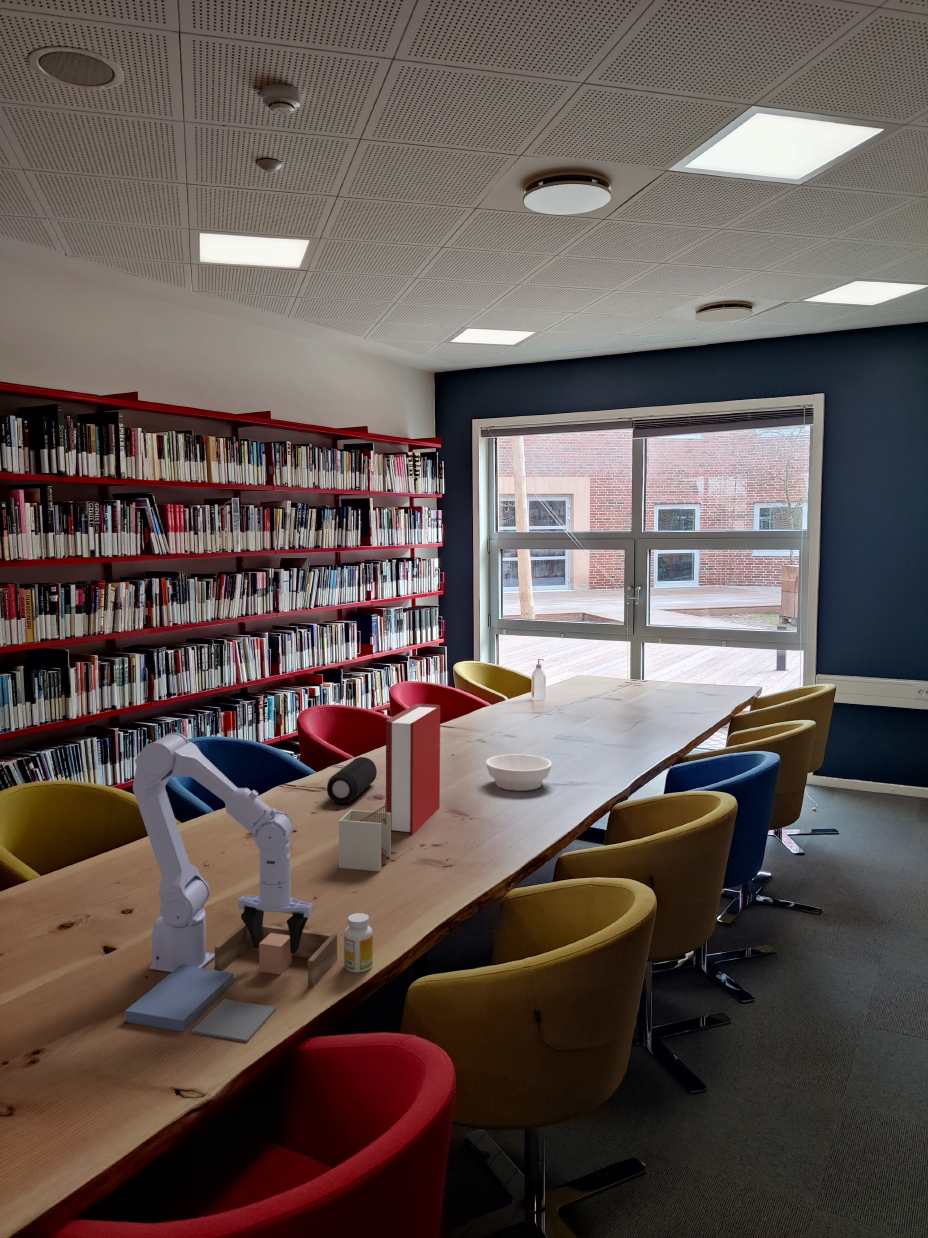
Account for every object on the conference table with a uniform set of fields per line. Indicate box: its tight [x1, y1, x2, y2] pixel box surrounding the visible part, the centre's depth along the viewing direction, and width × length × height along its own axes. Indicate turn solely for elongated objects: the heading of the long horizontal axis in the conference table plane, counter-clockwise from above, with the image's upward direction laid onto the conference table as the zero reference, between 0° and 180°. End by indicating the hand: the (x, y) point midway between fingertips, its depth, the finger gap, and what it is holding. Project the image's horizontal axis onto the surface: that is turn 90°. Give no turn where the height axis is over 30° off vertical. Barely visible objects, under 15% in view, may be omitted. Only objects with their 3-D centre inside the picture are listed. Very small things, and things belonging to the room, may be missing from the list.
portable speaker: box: [326, 756, 378, 805], centre depth 272 cm, size 26×10×10 cm, turn 169°
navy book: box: [125, 965, 235, 1032], centre depth 147 cm, size 16×11×2 cm
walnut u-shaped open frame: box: [214, 922, 338, 988], centre depth 160 cm, size 20×11×5 cm, turn 75°
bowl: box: [485, 753, 553, 792], centre depth 284 cm, size 22×22×8 cm
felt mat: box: [191, 998, 277, 1043], centre depth 141 cm, size 10×10×1 cm
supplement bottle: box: [343, 912, 374, 974], centre depth 160 cm, size 5×5×10 cm
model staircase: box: [338, 801, 392, 872], centre depth 212 cm, size 9×11×17 cm
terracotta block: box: [258, 933, 293, 975], centre depth 159 cm, size 4×4×6 cm
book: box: [385, 703, 441, 836], centre depth 247 cm, size 27×8×32 cm, turn 165°
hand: (276, 948), depth 159 cm, fingers open, 7 cm apart
